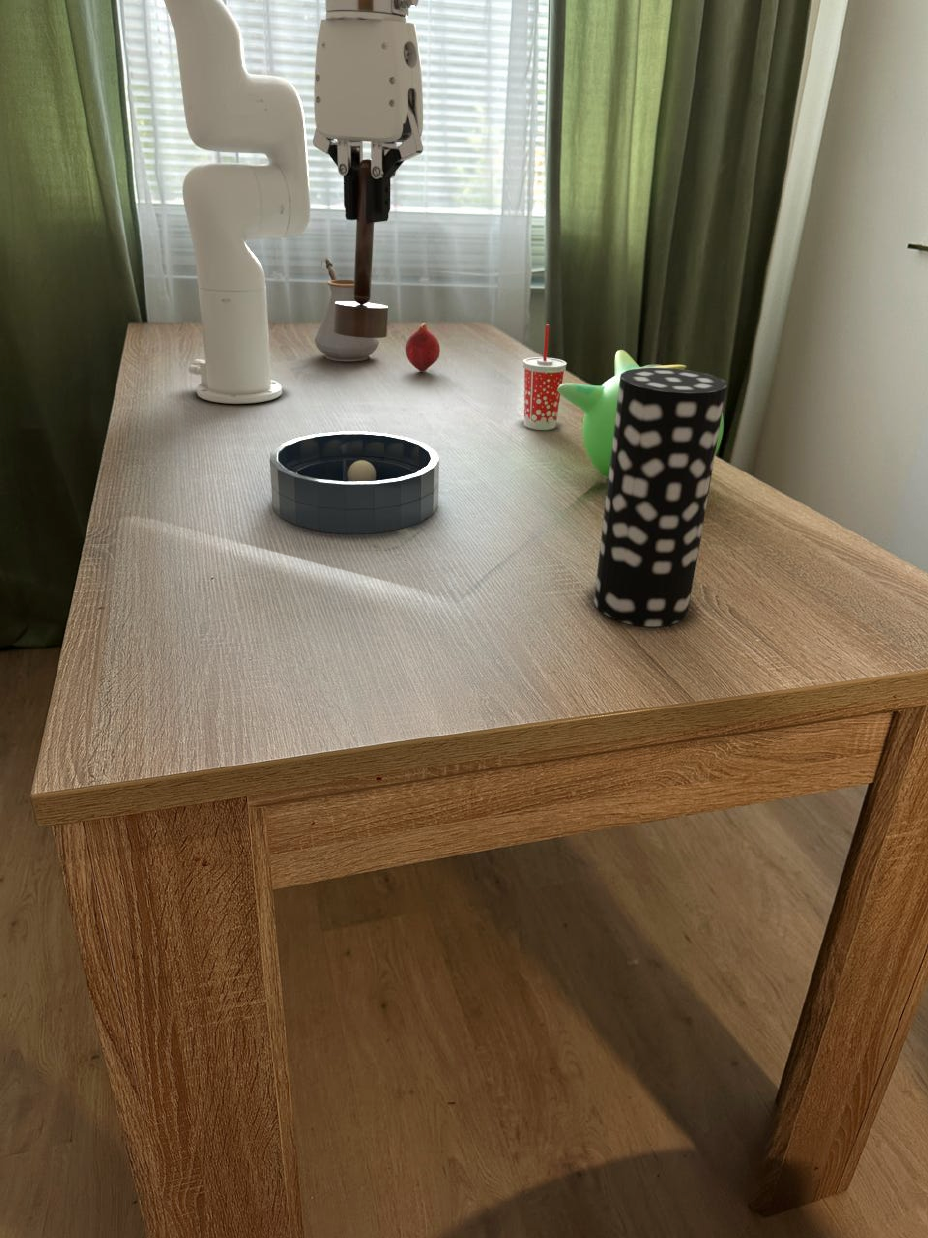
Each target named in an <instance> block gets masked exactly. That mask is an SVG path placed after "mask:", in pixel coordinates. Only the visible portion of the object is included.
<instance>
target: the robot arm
mask: <svg viewBox="0 0 928 1238" xmlns="http://www.w3.org/2000/svg"><path fill="white" fill-rule="evenodd" d="M324 1H325V6H324V7H325V19H321V20H320V23H319V29H318V34H317V35H318V36H317V44H316V54H315V65H314V66H315V67H314V91H313V94H314V95H313V96H314V98H313V99H314V101H313V102H314V104H313V106H314V107H313V108H314V122H315V127H316V128H315V132H314V135H313V138H312V144H313V146H314V147H315V148H317V149H318V150H320V151H321V152H323V153H325V154H326V155H329V157H330V158H331V160H332V161H333V162H334V164H335V165H336V167H337V171H338V174H339V175H340V176H341V177H343V207H344V209H345V219H346V220H347V221H357V198H358V174H359V164H360V162H361V161H362V160H364V152H363V151H364V144H363V142H369V143H370V147H371V148H370V159H371V174H372V178H367V181H366V219H367V220H368V222H373V223H374V224H375V223H381V222H387V221H388V220H389V214H390V211H391V179H393V178H395V177H396V174H397V171H398V170H399V168H400V167H401V166H402V165H403V163H404V162H405V161H407V160H409V159H412V158H414V157H416V156H420V155H421V154H422V153H423V151H424V145H423V142H422V139H421V137H422V136H423V128H424V99H423V98H424V97H423V93H424V92H423V75H422V63H421V56H420V55H421V54H420V48H419V40H418V34H417V30H416V29H417V28H416V24H415V23H411V22H408V16H409V9H410V8H411V7H417V6H418V4H419V0H324ZM163 2H164V5H165V7H166V10H167V13H168V15H169V18H170V22H171V24H172V28H173V33H174V39H175V43H176V53H177V63H178V71H179V80H180V86H181V95H182V96H181V97H182V104H183V105H182V106H183V111H184V119H185V123H186V129H187V132H188V135H189V138H190V139H191V141H192V143H193V144H194V145H195V146H196V147H198V148H200V149H202V150H205V151H210V152H220V153H236V154H237V153H238V154H239V153H241V154H242V153H243V154H263V155H265V156H266V158H267V162H268V164H262V163H261V164H260V163H259V164H258V163H257V164H256V163H242V162H241V163H240V162H239V163H236V162H212V163H211V162H210V163H205V164H201V165H198V166H194V167H193V168H192V169H191V170H189V171H188V173H187V174H186V175H185V177H184V179H183V182H182V190H181V191H182V200H183V206H184V210H185V214H186V219H187V222H188V227H189V231H190V235H191V241H192V247H193V253H194V260H195V269H196V277H197V287H198V297H199V300H198V301H199V308H200V309H199V310H200V320H201V332H202V342H203V354H204V359H200V358H199V359H198V358H196V359H194V360H193V362H192V364H190V365H189V367H188V372H189V374H190V375H195V376H200V378H201V383H199V384H198V385H197V386H196V393H197V396H198V397H199V398H201V399H202V400H205V401H208V402H211V403H217V404H227V405H229V404H230V405H232V404H233V405H244V404H257V403H258V404H259V403H264V402H268V401H272V400H275V399H277V398H279V397H280V396H281V395H282V394H283V386H282V385H281V384H280V383H279V382H277V381H275V380H272V372H271V371H272V369H271V355H270V337H269V321H268V303H267V287H266V286H267V285H266V275H265V271H264V268H263V266H262V264H261V262H260V261H259V259H258V258H257V256H256V255H255V254H254V253H253V252H252V250H251V249H250V247H249V246H248V245H247V243H246V240H251V239H279V238H293V237H297V236H300V235H302V234H303V233H304V232H305V231H306V229H307V228H308V226H309V224H310V223H309V222H310V218H311V189H310V175H309V163H308V162H309V161H308V148H307V133H306V132H307V131H306V124H305V116H304V115H305V114H304V113H305V112H304V109H303V105H302V101H301V98H300V96H299V93H298V92H297V90H296V88H295V86H294V85H293V84H292V83H291V82H289V81H288V80H287V79H285V78H283V77H279V76H275V75H267V74H265V75H264V74H253V73H252V74H251V73H249V72H248V71H247V68H246V63H245V57H244V44H243V36H242V32H241V28H240V26H239V24H238V22H237V20H236V18H235V17H234V15H233V14H232V12H231V11H230V9H229V7H228V6H227V5H226V3H225V2H224V1H223V0H163ZM397 143H401V144H399V145H398V146H397Z"/></svg>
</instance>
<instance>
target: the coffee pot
mask: <svg viewBox="0 0 928 1238" xmlns="http://www.w3.org/2000/svg"><path fill="white" fill-rule="evenodd" d="M324 262H325V267H324V266H323V263H324ZM320 265H321V267H322V269H325V270H327V271H328V276H329V277H330V280H328V281H327V283H326V284H327V285H328V286H329V290H330V297H329V300H328V302H327V306H326V307H325V311H324V313H323V316H322V318H321V321H320V324H319V327H318V329H317V331H316V335H315V337H314V343H315V345H316V348H317V349H318V350H319V352H320V353H322V354H323V355H325V358H326V359H328V360H330V361H335V362H336V361H337V362H360V361H361V362H362V361H365V360H368V359H369V358H370V357H369V356H370V355H372V354H374V353H375V352H376V350H377V349H378V347H379V345H380V340H379V339H380V338H362V337H352V336H345V335H340V334H337V333H335V332H334V310H335V302H338V301H352V302H356V301H355V300H354V296H353V293H354V279H338V276H337V273H336V271H335V269H334V268H333V267H334V262H333V261H332V260H330V259H329V258H325V259H324V260H322V261H321V263H320Z"/></svg>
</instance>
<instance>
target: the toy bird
mask: <svg viewBox="0 0 928 1238" xmlns="http://www.w3.org/2000/svg"><path fill="white" fill-rule="evenodd" d="M613 362H614V363H613V364H614V365H613V367H614V376H612V377H610V378H609V379H608V380H607V381H605V382H604V383H603V384H601V385H595V384H584V383H572V382H571V383H570V382H569V383H562V384H561V385H560V386H559V387H558V392H559V393H560V396H562V397H563V398H564V399H565V400H567V401H568V402H569V403H571V404H573V405H574V406H575V407H577V408H579V409H580V410H582V411H583V412H584V415H583V419H582V427H581V433H582V436H581V437H582V442H583V446H584V449H585V451H586V454H587V456H588V458H589V460H590V462H591V463H592V464H593V466H594V467H595V468H596V469H597V470H598V472H600V473H601V474H602V475H603V476H604V477H605V478H607V479H608V477H609V468H610V460H611V451H612V443H613V434H614V426H615V417H616V409H617V400H618V392H619V383H620V376H621V374H622V373H623V372H625V371H628V370H632V369H639V368H673V369H683V370H686V368H687V365H685V364H667V365H665V364H664V365H662V364H647V365H643V366H640V365H639V364H638V363H637V362H636V360H635V359H634V358H633V357H632V356H631V355H630V354H629V353H628V352H627V351H626V350H624V349H619V350H617V351H616V352H615V354H614V361H613ZM723 412H724V411H723ZM723 412H722V418H721V423H720V429H719V435H718V441H717V447H716V452H715V456H716V455H717V453H718V451H719V449H720V446H721V443H722V440H723V436H724V430H725V429H724V427H725V423H724V422H725V421H724V413H723Z"/></svg>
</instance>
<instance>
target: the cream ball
mask: <svg viewBox="0 0 928 1238" xmlns="http://www.w3.org/2000/svg"><path fill="white" fill-rule="evenodd" d="M348 480H349V482H373V481H375V480H376V470H375V468H374V466H373V465H372V464H371V463H369V462H367V461H364V460H360V461H356V462H354V463H353V464H352V465H351V466H350V467H349V470H348Z"/></svg>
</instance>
